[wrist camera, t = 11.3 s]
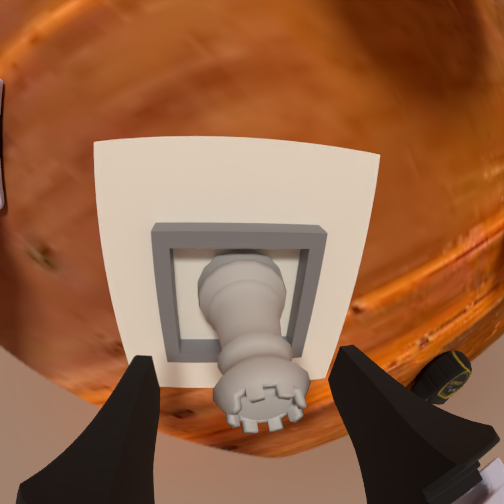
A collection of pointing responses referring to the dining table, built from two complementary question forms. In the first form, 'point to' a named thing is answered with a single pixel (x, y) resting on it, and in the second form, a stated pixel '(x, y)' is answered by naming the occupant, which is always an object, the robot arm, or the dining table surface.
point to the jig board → (228, 239)
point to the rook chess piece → (251, 341)
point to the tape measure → (443, 377)
